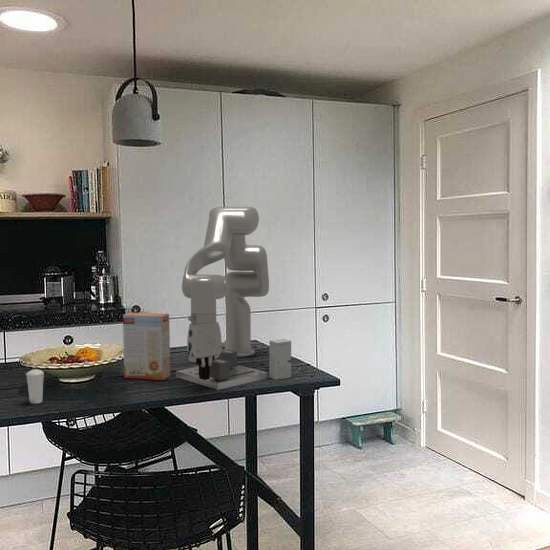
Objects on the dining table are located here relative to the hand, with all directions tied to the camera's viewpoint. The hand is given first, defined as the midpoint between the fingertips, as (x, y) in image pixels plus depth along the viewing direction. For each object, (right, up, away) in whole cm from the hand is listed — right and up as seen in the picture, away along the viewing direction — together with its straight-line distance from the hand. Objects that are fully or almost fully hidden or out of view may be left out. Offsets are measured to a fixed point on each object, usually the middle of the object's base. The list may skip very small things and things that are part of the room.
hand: (204, 378), depth 185 cm
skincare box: (+23, -2, +14) cm, 27 cm away
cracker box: (-20, -2, +14) cm, 25 cm away
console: (+4, -2, +13) cm, 14 cm away
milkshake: (-46, -4, -14) cm, 48 cm away
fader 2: (+4, 0, +4) cm, 6 cm away
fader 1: (+5, +1, +19) cm, 20 cm away
